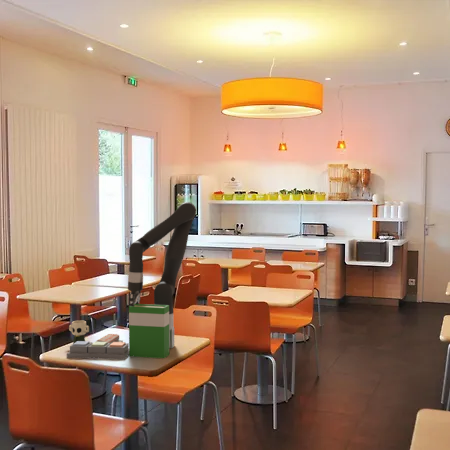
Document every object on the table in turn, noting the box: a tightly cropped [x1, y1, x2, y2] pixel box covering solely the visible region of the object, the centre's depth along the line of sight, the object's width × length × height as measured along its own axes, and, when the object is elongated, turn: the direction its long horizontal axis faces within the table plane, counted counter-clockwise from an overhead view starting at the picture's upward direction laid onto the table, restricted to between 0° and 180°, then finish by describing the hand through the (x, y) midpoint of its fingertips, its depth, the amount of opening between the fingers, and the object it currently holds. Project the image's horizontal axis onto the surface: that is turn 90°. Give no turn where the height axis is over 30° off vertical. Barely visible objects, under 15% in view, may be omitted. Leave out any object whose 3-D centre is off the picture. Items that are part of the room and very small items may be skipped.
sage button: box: [91, 341, 107, 347], centre depth 283 cm, size 6×6×2 cm
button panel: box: [66, 341, 129, 360], centre depth 283 cm, size 28×12×5 cm, turn 85°
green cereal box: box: [128, 303, 170, 359], centre depth 282 cm, size 18×7×24 cm, turn 77°
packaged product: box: [95, 333, 124, 344], centre depth 302 cm, size 18×5×10 cm
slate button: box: [72, 340, 90, 346], centre depth 284 cm, size 6×6×2 cm
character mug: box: [68, 320, 90, 344], centre depth 298 cm, size 11×7×13 cm, turn 75°
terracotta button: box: [110, 341, 126, 347], centre depth 282 cm, size 6×6×2 cm
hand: (134, 312), depth 298 cm, fingers open, 8 cm apart
